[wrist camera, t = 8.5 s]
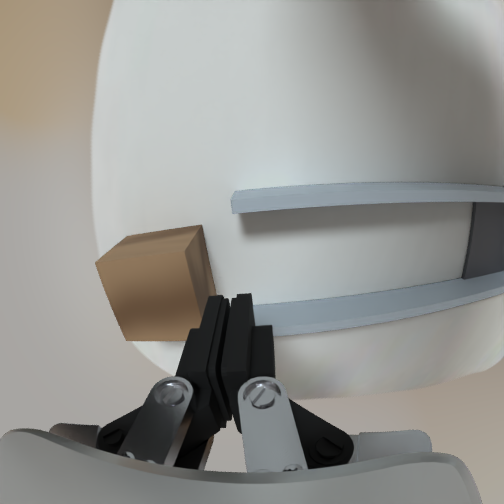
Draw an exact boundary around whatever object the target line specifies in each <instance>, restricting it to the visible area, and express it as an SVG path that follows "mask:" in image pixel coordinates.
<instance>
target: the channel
mask: <svg viewBox="0 0 504 504" xmlns="http://www.w3.org/2000/svg"><path fill="white" fill-rule="evenodd" d="M407 202H474V203H473V214H472V222H471V230H470V237H469V244H468V249H467V255H466V260H465V265H464V270H463V274H462V278H459V279H454V280H448V281H443V282H438V283H432V284H426V285H420V286H414V287H408V288H402V289H395V290H389V291H382V292H375V293H368V294H360V295H352V296H344V297H336V298H327V299H318V300H309V301H299V302H288V303H277V304H265V305H253V310H254V318H255V326H260V325H272V327H273V336H285V335H296V334H306V333H315V332H323V331H331V330H338V329H346V328H353V327H359V326H365V325H372V324H377V323H383V322H389V321H394V320H399V319H404V318H409V317H414V316H419V315H423V314H428V313H432V312H437V311H441V310H445V309H449V308H453V307H457V306H461V305H464V304H468V303H472V302H475V301H479V300H482V299H486V298H489V297H492V296H496V295H499V294H502V293H504V187H501V186H489V185H474V184H456V183H425V182H372V183H339V184H318V185H301V186H287V187H274V188H262V189H252V190H242V191H235V192H234V194H233V196H232V198H231V206H232V214H236V213H247V212H258V211H269V210H281V209H293V208H307V207H322V206H338V205H356V204H378V203H407Z"/></svg>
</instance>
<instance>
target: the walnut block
mask: <svg viewBox="0 0 504 504" xmlns="http://www.w3.org/2000/svg"><path fill="white" fill-rule="evenodd" d="M95 264H96V267H97V270H98V273H99V276H100V279H101V281H102V284H103V287H104V290H105V292H106V295H107V297H108V300H109V302H110V305H111V307H112V310H113V312H114V315H115V317H116V319H117V322H118V324H119V326H120V328H121V330H122V333H123V335H124V337H125V339H126V341H186V340H187V337H188V334H189V331H190V329H191V328H199V327H200V324H201V320H202V317H203V313H204V310H205V306H206V303H207V300H208V297H209V296H215V295H216V290H215V286H214V281H213V277H212V272H211V267H210V263H209V258H208V253H207V248H206V243H205V238H204V233H203V228H202V225H196V226H189V227H182V228H175V229H169V230H162V231H156V232H149V233H143V234H137V235H131V236H127V237H125V238H124V239H123V240H122V241H120V242H119V243H118V244H117V245H115V246H114V247H113V248H112V249H111V250H109V251H108V252H107V253H106V254H105V255H103V256H102V257H101V258H100V259H99V260H98V261H96V262H95Z"/></svg>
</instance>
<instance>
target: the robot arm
mask: <svg viewBox="0 0 504 504" xmlns="http://www.w3.org/2000/svg"><path fill="white" fill-rule="evenodd" d="M232 414H233V417H234V421H235V424H236V427H237V430H238V431H239V432H240V433H241V434H242V438H243V446H244V454H245V461H246V469H247V473H241V472H240V473H238V472H216V471H204V469H205V465H206V462H207V459H208V456H209V453H210V450H211V447H212V444H213V440H214V434H216V433H217V432H219V431H220V428H226V422H227V421H231V420H232ZM0 504H482V500H481V497H480V494H479V491H478V488H477V486H476V483H475V481H474V479H473V477H472V474H471V473H470V471H469V469H468V468H467V466H466V465H465V464H464V462H463V461H462V460H460V459H459V458H458V457H456V456H454V455H450V454H445V453H438V452H432V444H431V440H430V437H429V436H428V435H427V434H426V433H425V432H422V431H420V430H406V431H392V432H367V433H366V432H364V433H362V432H361V433H360V434H359V435H348V434H347V433H345V432H344V431H342V430H340V429H339V428H337V427H335V426H333V425H331V424H330V423H328V422H326V421H324V420H323V419H321V418H319V417H318V416H316V415H314V414H313V413H311V412H309V411H308V410H306V409H305V408H303V407H301V406H300V405H298V404H296V403H295V402H293V401H292V400H290V399H289V398H288V395H287V391H286V389H285V387H284V385H283V384H282V383H281V382H280V381H279V380H277V379H275V356H274V340H273V327H272V325H260V326H255V318H254V310H253V302H252V295H251V293H248V294H237V298H232V301H231V307H230V303H229V299H228V298H226V299H224V297H223V295H215V296H209V297H208V300H207V303H206V306H205V310H204V313H203V317H202V320H201V324H200V327H199V328H191V329H190V331H189V334H188V337H187V340H186V343H185V346H184V349H183V353H182V356H181V359H180V362H179V365H178V369H177V372H176V375H175V377H167V378H164V379H162V380H160V381H159V382H157V383H156V384H155V385H154V386H153V388H152V389H151V391H150V393H149V395H148V397H147V398H146V400H145V402H144V404H143V406H141V407H139V408H137V409H135V410H133V411H132V412H130V413H128V414H126V415H124V416H122V417H121V418H118V419H117V420H115V421H113V422H111V423H109V424H107V425H106V426H104V427H103V428H101V427H100V426H99V425H80V424H67V423H59V424H56V425H54V426H53V427H52V428H51V429H50V431H49V432H46V431H42V430H38V429H28V428H26V429H25V428H22V429H14V430H10V431H8V432H7V433H5V434H4V435H3V436H2V438H1V439H0Z"/></svg>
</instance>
